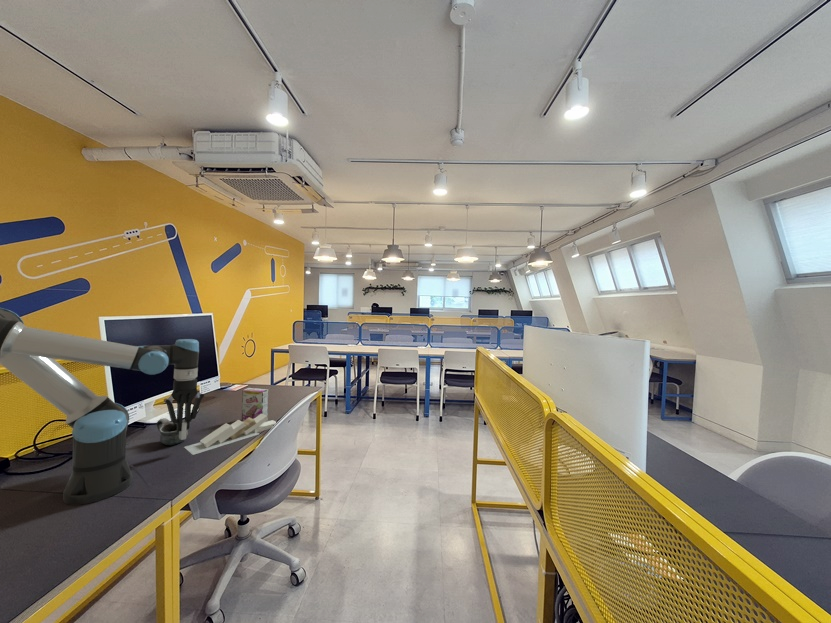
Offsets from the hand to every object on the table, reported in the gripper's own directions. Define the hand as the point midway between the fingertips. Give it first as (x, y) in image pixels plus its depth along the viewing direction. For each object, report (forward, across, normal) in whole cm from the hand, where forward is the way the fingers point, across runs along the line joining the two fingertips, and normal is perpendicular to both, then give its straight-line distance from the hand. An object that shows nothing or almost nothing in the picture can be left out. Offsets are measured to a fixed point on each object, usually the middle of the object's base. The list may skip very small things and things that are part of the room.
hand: (182, 438), depth 121 cm
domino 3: (+4, +23, 0) cm, 23 cm away
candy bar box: (+6, +34, +12) cm, 37 cm away
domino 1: (+5, +7, 0) cm, 9 cm away
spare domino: (+4, +17, 0) cm, 18 cm away
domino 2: (+4, +12, 0) cm, 13 cm away
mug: (+6, 0, +14) cm, 15 cm away
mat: (+6, +15, 0) cm, 16 cm away
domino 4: (+4, +27, 0) cm, 27 cm away
